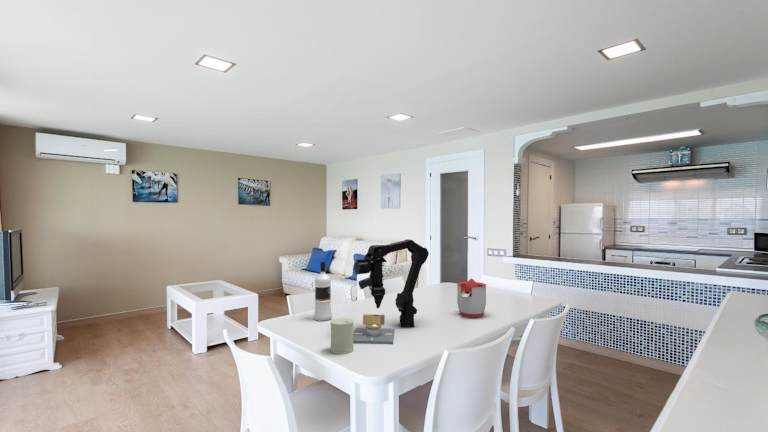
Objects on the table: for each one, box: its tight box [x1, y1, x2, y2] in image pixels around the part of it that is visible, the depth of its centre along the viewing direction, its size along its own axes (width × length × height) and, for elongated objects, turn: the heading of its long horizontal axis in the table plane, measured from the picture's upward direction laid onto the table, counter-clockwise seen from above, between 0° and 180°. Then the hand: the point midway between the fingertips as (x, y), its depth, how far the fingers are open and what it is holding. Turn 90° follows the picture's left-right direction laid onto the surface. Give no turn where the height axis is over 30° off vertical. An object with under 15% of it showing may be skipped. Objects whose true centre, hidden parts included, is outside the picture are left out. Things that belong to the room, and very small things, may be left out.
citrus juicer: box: [456, 277, 487, 319], centre depth 198 cm, size 16×17×20 cm
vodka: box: [313, 260, 333, 322], centre depth 192 cm, size 9×9×30 cm
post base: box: [353, 327, 396, 345], centre depth 163 cm, size 18×18×4 cm
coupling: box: [362, 313, 386, 329], centre depth 163 cm, size 6×9×5 cm
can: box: [329, 317, 354, 355], centre depth 147 cm, size 9×9×12 cm
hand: (377, 305), depth 172 cm, fingers open, 9 cm apart
